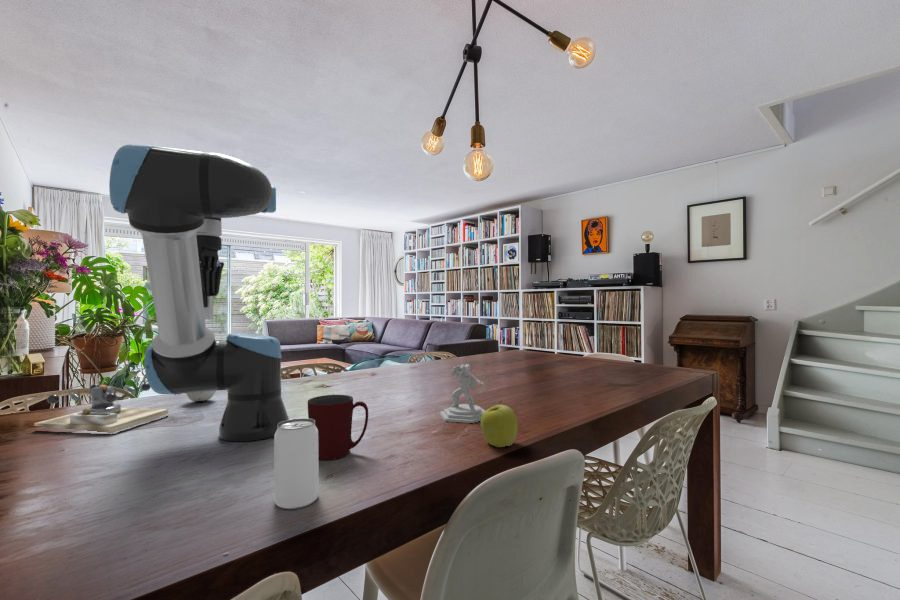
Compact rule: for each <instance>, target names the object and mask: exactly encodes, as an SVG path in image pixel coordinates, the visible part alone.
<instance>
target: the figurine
mask: <svg viewBox="0 0 900 600" xmlns="http://www.w3.org/2000/svg"><path fill="white" fill-rule="evenodd" d="M451 369H452V370H451V371H450V375H451V376H453V377H454V378H457V379H458V380H457V383H458V384H460V385H459V386H460V387H459V388H457V389H455V390H454V391H453V392H452V393H451V398H452V401H453V404H452V405H450V406H449V407H448V408H444V409H443V410H442V411H439V416H442V417H441V418H442V419H443V421H444V422H445V421H448V423H456V422H463V423H462V424H468V423H473V424H475V423H474V422H476V423H479V422H478V421H480V422H481V416H482V414H483V413H484V412H485V411H486V410H485V409H484V408H482V407H481V406H479V405H475V404H474V397H473V396H472V393H471V391H470V390H469V387H470V388H471V390H473V391H474V392H476V394H477V393H478V391H477V388H476V386H475V385H476V384H477V385H478V386H480V387H486V384H485V383H484V382H482V380H479V379H478V377H476V376H475V375H474V374H471V373H470V370H471V365H470V364H469V363H466V364H465V363H461V365H457V366H453V368H451ZM474 383H475V384H474ZM463 394H464V398H465V399H466V400H465V401H466V403H461V404H460V401H461V399H460V396H462V395H463Z"/></svg>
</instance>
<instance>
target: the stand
mask: <svg viewBox="0 0 900 600" xmlns="http://www.w3.org/2000/svg"><path fill="white" fill-rule="evenodd" d="M89 408H90V407H86V408H84V409H82V410H81V411H78V412H73V413H70V414H66V415H61V416H58V417H57V416H56V417H53V418H50V419H46V420H42V421H38V422H34V423H33V424H34V425H33V426H41V427H51V428H65V429H75V430H87V431H97V432H108V433H113V432H116V431H119V430H122V429H125V428H128V427H132V426H134V425H137V424H140V423H143V422H147V421H150V420H152V419H155V418H158V417H160V416H163V415H166V414H168V415H169V409H167V408H164V409H163V408H141V407H140V408H137V407H121V411H120V412H117V413H97V412H91V409H89Z"/></svg>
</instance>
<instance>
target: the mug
mask: <svg viewBox="0 0 900 600" xmlns="http://www.w3.org/2000/svg"><path fill="white" fill-rule="evenodd" d="M357 407H362V408H363V409H364V411H365V418H364V425H363V429H362V431H361V433H360V435H359V437H358V438H357V439H356V440H355V441H354V440H352V430H353V429H352V428H353V413H354V409H355V408H357ZM307 415H308V416H307V417H308V419H313V420H315V426H316V427H317V430H318V457H319V460H320V461H333V460H337V459H341V458H344V457H346V456H348V455H349V454H350V451H351V449H353V448H355V447H357V446H358V444H359V443H360V442H361V441H362V439H363V437H364V435H365V433H366V430H367V429H368V424H369V423H368V421H369V408H368V406H367V404H366V403H365V402H364V401H361V400H359V401H356V402H355V403H354V398H353V396H350V395H347V394H346V395H345V394H327V395H320V396H315V397H311V398H310V399H308V400H307Z"/></svg>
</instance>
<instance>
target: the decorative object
mask: <svg viewBox="0 0 900 600" xmlns="http://www.w3.org/2000/svg"><path fill="white" fill-rule="evenodd" d="M215 393H216V391H206V392H194V393H185V394H186V396H187V398H188V399H189V400H190V401H192V402H194V401H203V402H205V401H204V400H207V401H209V400H211V398H213V396H214V395H215ZM208 399H209V400H208Z"/></svg>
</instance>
